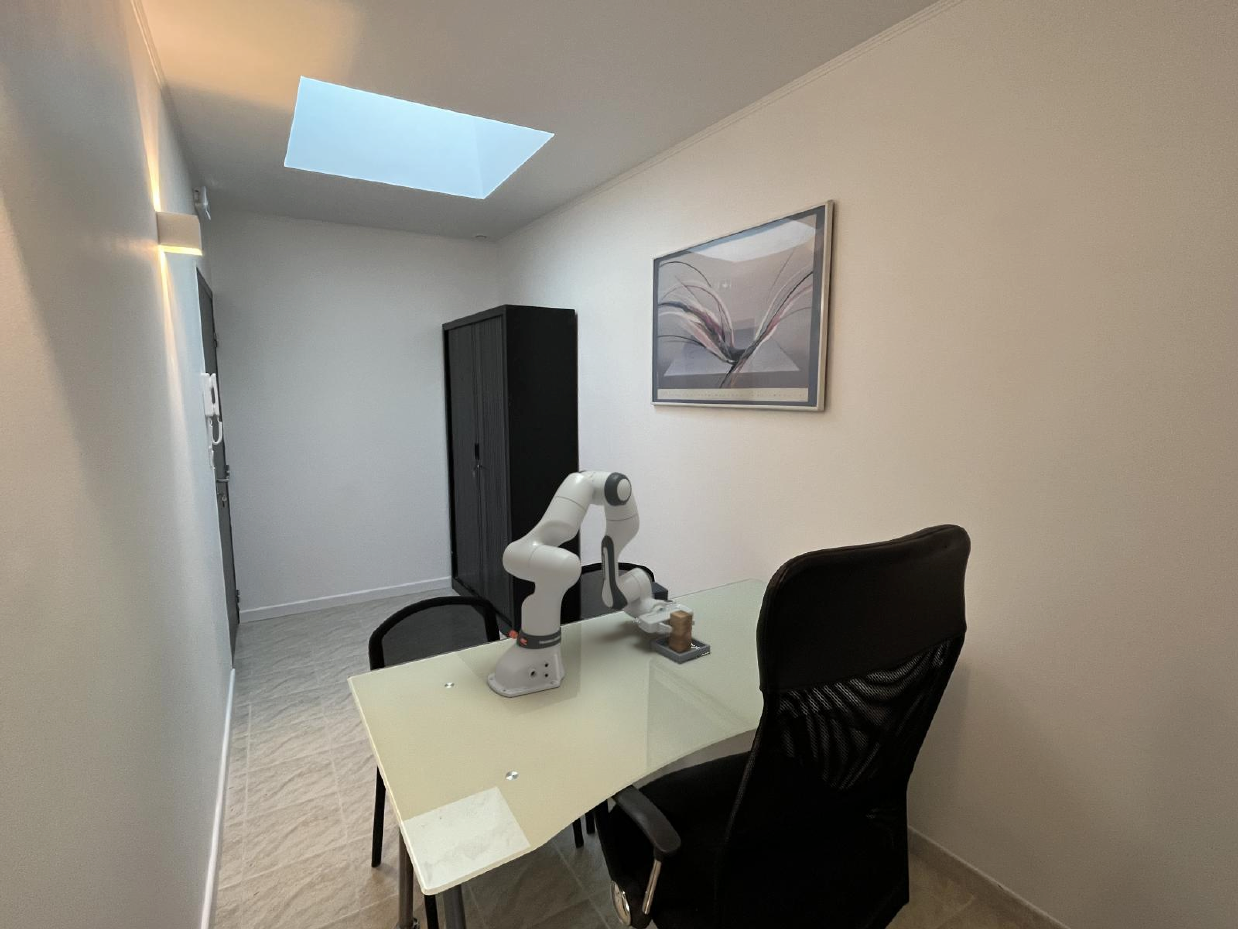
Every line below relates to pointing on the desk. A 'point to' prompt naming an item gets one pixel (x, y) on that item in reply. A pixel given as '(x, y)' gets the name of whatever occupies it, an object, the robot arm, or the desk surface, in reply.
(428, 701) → the desk surface
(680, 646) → the walnut block
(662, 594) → the small box
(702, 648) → the tray
